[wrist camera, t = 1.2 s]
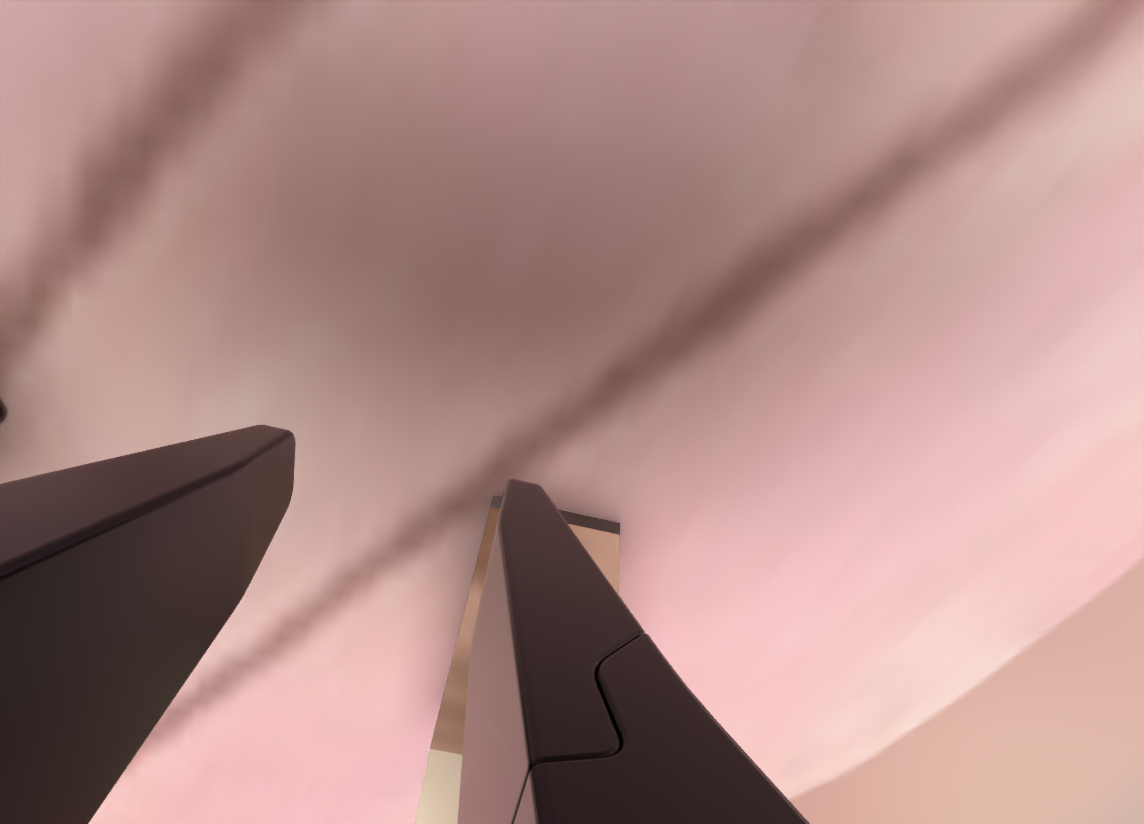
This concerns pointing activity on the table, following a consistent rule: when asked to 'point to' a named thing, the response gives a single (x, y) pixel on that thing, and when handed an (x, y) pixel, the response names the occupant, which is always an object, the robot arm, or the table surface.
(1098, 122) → the table surface
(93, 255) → the table surface
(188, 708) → the table surface
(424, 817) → the marked block
